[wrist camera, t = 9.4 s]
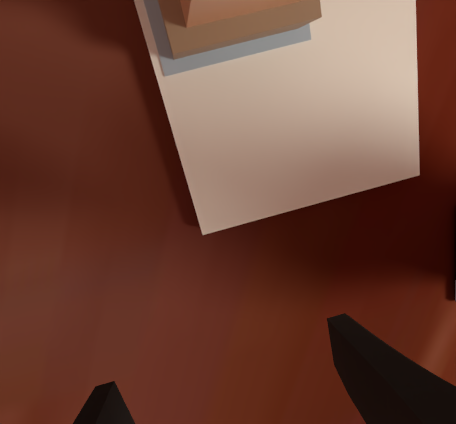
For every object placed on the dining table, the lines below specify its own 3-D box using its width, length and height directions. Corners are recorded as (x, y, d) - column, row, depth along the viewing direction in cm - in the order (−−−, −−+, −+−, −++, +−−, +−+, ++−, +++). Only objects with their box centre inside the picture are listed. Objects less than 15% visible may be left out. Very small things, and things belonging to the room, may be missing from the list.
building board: (396, -166, 15) (469, -250, 11) (408, 171, 21) (459, 189, 17) (105, -101, 14) (80, -167, 11) (201, 228, 20) (206, 260, 16)
